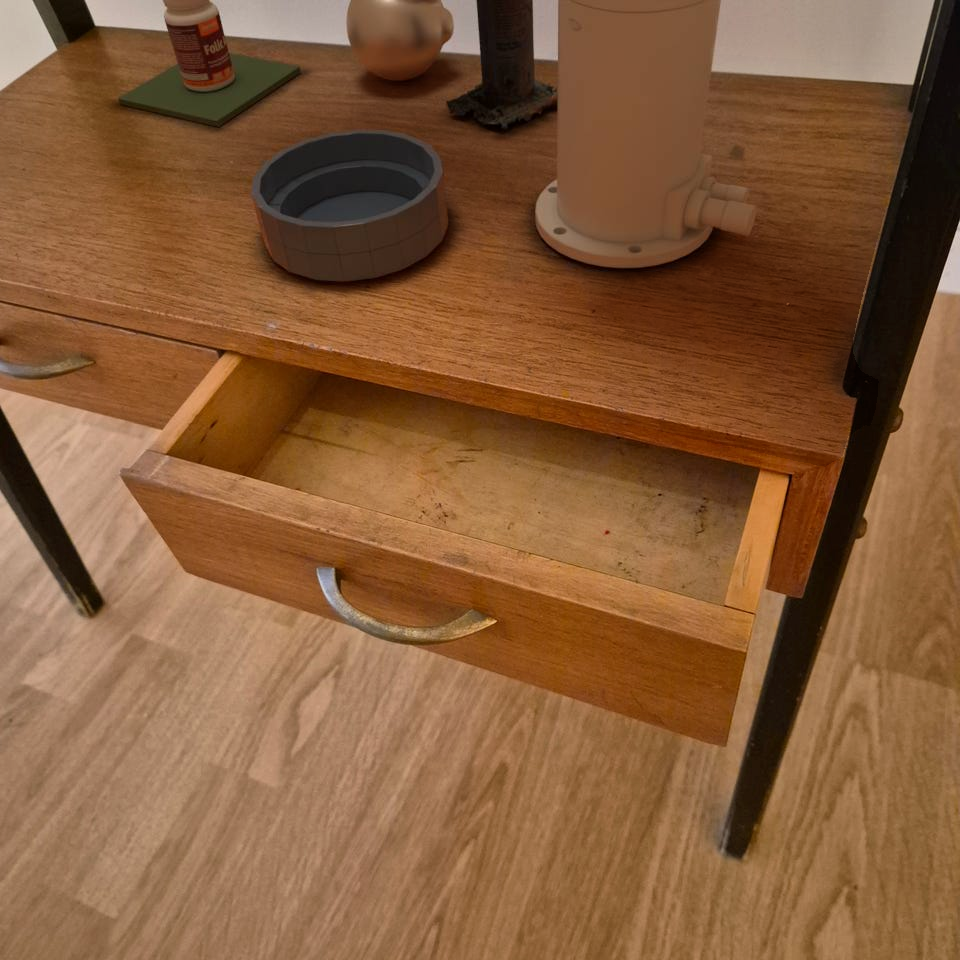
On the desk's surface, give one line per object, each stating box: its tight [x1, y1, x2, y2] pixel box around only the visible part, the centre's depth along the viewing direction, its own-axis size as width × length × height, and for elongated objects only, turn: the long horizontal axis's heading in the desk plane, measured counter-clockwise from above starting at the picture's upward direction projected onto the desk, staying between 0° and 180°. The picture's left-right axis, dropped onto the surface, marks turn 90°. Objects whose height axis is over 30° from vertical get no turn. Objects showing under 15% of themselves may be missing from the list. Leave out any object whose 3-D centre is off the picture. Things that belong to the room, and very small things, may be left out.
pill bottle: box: [162, 0, 235, 92], centre depth 79 cm, size 5×5×8 cm
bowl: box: [250, 129, 449, 283], centre depth 62 cm, size 13×13×4 cm
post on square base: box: [445, 0, 558, 132], centre depth 71 cm, size 9×8×12 cm
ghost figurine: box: [345, 0, 455, 82], centre depth 78 cm, size 9×10×10 cm
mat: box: [117, 52, 301, 128], centre depth 82 cm, size 12×12×1 cm
